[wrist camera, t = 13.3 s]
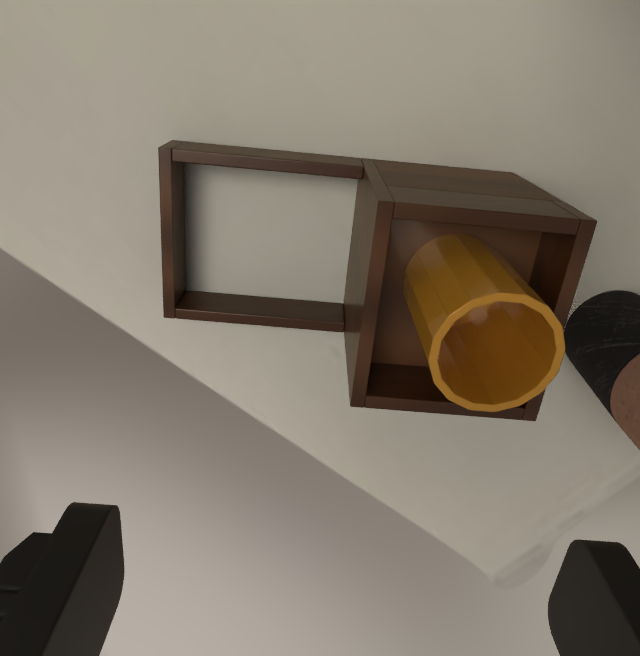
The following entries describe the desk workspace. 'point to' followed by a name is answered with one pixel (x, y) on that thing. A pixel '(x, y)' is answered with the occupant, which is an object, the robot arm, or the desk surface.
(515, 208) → the organizer
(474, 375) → the cup
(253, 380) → the desk surface
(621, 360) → the travel mug
